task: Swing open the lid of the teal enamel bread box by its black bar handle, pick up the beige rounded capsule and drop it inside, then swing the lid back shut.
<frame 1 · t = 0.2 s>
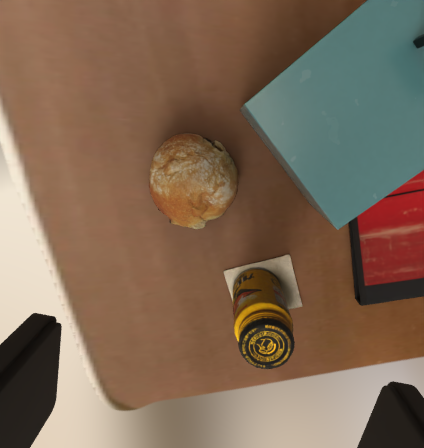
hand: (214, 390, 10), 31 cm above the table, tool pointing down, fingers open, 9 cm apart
bread box lid: (378, 110, 26), point 11 cm above the table, hinge at 0.0°
bread box: (329, 118, 37), on the table
bread roll: (194, 180, 39), on the table
condiment: (262, 287, 43), on the table
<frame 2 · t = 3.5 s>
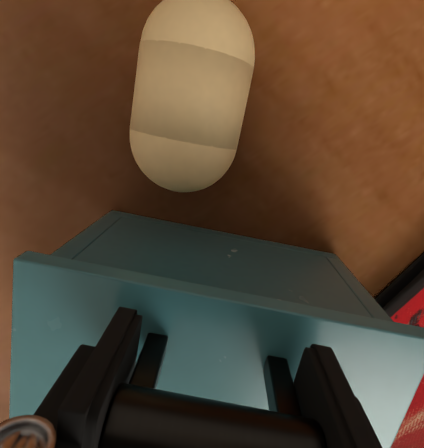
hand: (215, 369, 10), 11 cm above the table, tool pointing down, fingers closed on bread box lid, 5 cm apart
bread box: (202, 332, 22), on the table
beige rounded capsule: (195, 103, 18), on the table
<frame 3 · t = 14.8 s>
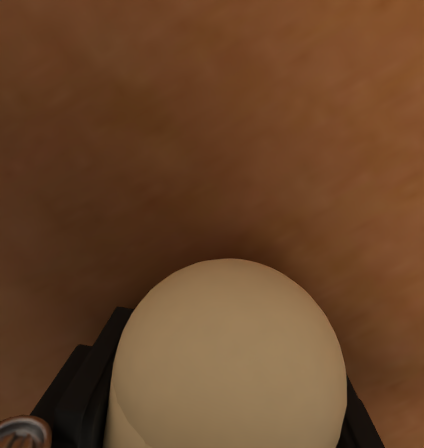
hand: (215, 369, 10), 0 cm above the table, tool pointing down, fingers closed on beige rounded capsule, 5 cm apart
beige rounded capsule: (215, 359, 11), on the table, touching gripper
when the fingers open (10 cm above the table, at t = 28.7 s): beige rounded capsule stays where it is, resting on bread box.
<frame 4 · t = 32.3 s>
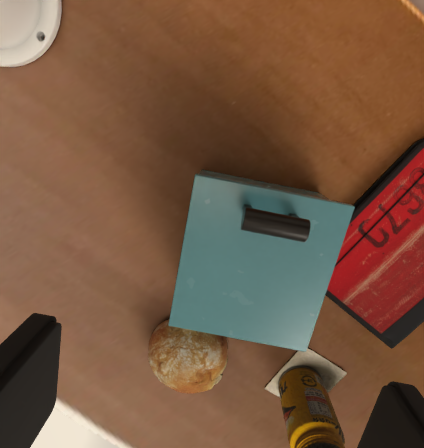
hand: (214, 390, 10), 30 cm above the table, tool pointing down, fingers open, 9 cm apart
binder: (402, 243, 40), on the table
bread box lid: (256, 279, 29), point 12 cm above the table, hinge at 1.5°
bread box: (247, 239, 40), on the table
bread roll: (191, 344, 45), on the table
condiment: (304, 378, 45), on the table
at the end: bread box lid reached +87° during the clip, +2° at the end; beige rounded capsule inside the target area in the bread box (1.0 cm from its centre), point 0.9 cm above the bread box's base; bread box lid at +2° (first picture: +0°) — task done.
